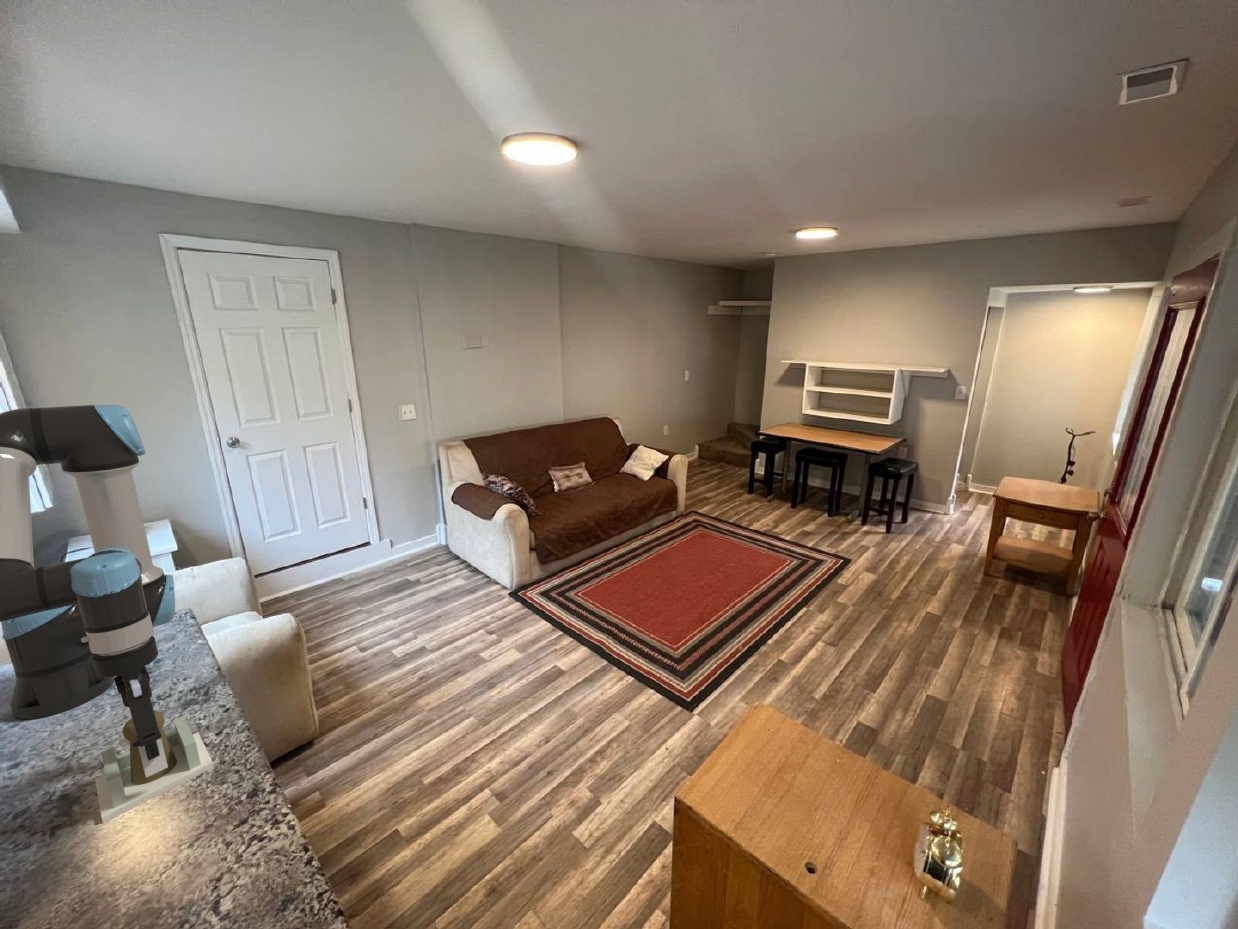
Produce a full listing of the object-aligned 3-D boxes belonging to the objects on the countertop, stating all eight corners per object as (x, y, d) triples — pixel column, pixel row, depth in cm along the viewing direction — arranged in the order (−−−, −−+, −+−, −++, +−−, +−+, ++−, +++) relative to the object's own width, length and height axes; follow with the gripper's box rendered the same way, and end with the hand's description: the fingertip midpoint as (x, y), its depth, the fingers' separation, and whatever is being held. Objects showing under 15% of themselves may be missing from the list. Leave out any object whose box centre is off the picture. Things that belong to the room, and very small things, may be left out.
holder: (96, 783, 84) (88, 754, 83) (199, 736, 95) (193, 710, 93) (103, 823, 77) (94, 792, 75) (213, 767, 87) (207, 738, 86)
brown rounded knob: (147, 787, 82) (134, 732, 80) (121, 781, 83) (107, 726, 81) (186, 760, 88) (174, 707, 86) (160, 754, 89) (148, 703, 87)
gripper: (84, 629, 85) (112, 731, 90) (98, 685, 70) (130, 806, 74) (143, 612, 91) (165, 709, 95) (167, 661, 76) (193, 774, 80)
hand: (150, 751), depth 85 cm, fingers open, 13 cm apart
